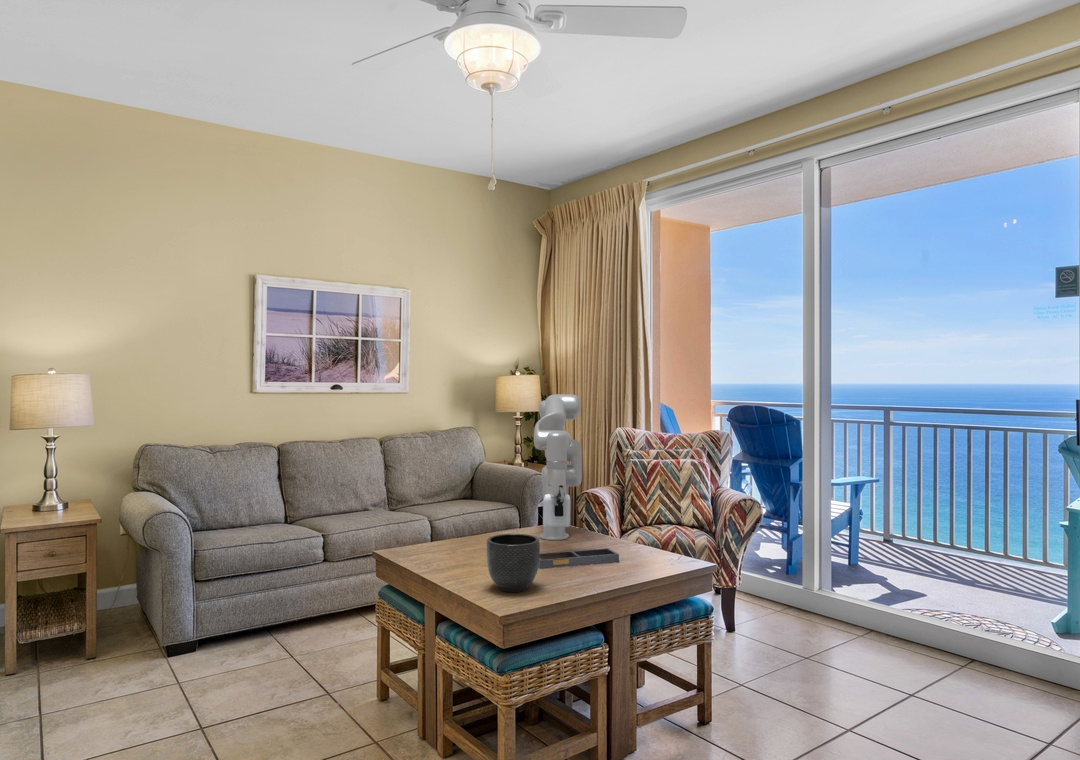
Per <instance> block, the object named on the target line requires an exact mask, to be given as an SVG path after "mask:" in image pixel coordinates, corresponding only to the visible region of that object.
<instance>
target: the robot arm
mask: <svg viewBox="0 0 1080 760" xmlns="http://www.w3.org/2000/svg"><path fill="white" fill-rule="evenodd" d="M580 412H581V401H580V398H579V396H578V395H576V394H571V393H569V394H568V393H567V394H563V393H561V394H559V393H558V394H557V393H556V394H551V395H549V396H547V397H546V398H545V400H542V401H540V402H539V404H538V413H539V418H540V419H539V420H538V421H537V422H536V423H535V425H534V427H533V428H534V429H533V445H534V447H535V449H537V450H539V451H544V455H545V459H546V465H545V466H543V467H542V469H541V481H542V491H543V499H544V496H545V495H547V494H550V496H551V497H553V498H554V497H555V503H556V505H555V516H556V517H557V516H563V505H564V499H565V496H566V494H567V487H569V488H570V487H571V488H572V487H573V488H574V487H578V486H580V485H581V483H582V479H583V474H582V473H583V469H582V468H583V467H582V466H583V465H582V462H583V461H582V446H581V442H580V441H579V440H577V439H572V437H571V434H570V433H569V432H568V431H567V430H565V427H564V426H565V424H566V423H567V420H577V419H579V416H580ZM569 462H570V463H571V464H567V463H569ZM557 495H560V497H557ZM542 527H543V530H542V531H543V532H541V533H540V534H539V539H542V540H548V541H561V540H562V541H563V540H566V539H569V537H570V534H569V533H568V532H566V527H544V526H543V525H542Z"/></svg>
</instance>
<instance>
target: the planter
mask: <svg viewBox="0 0 1080 760" xmlns="http://www.w3.org/2000/svg"><path fill="white" fill-rule="evenodd" d="M540 545H541V541H540V537H538V536H535V535H532V534H525V533H503V534H496V535H492V536H489V537H488V538H487V539H486V561H487V570H488V574H489V576H490V579H491V580H492V582H493V584H495V585H496V586H497V587H498V589H499V590H500V591H502V592H504V593H519V592H524V591H526V590H527V589H528V587H529V585H530V584H532V582H533V581H534V580H535V578H536V576H537V574H538V571H539V568H538V565H539V553H540V551H541V550H540V548H541V546H540Z"/></svg>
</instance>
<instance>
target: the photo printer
mask: <svg viewBox="0 0 1080 760" xmlns="http://www.w3.org/2000/svg"><path fill="white" fill-rule="evenodd" d="M557 497H560V495H557ZM542 501H543V502H542V527H543V526H544V527H565V528H566V527H567V528H570V527H571V497H570V494H568V493H566V496H565V499H564V505H563V516H557V517H556V516H555V505H556V503H555V497H554V498H553V497H551V496H550V494H547V495H545V496H544V498H543V500H542Z"/></svg>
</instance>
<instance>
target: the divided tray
mask: <svg viewBox="0 0 1080 760" xmlns="http://www.w3.org/2000/svg"><path fill="white" fill-rule="evenodd" d="M614 562H617V563H620V554H619V553H618V552H616V551H614V550H612V548H608V547H606V548H594V549H593V548H592V549H581V550H568V551H555V552H554V551H553V552H541V553H539V565H538V570H541V569H543V570H544V569H554V567H557V568H566V567H565V566H569V567H579V566H578V565H581V566H589V565H590V564H593V565H602V564H603V565H604V563H605V564H614ZM590 566H591V565H590Z"/></svg>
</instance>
